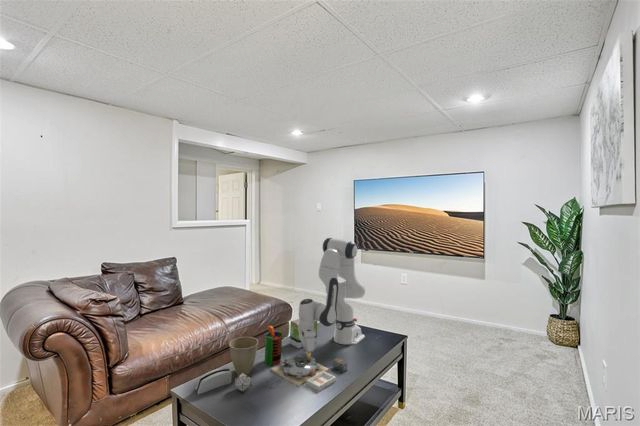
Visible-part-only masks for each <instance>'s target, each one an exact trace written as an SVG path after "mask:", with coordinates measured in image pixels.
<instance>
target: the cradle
mask: <svg viewBox="0 0 640 426" xmlns="http://www.w3.org/2000/svg"><path fill="white" fill-rule="evenodd" d="M336 379H337V378H336V376H334V374H330V373H329V372H328V371H327V372H325V371H322V372H321V373H319V374H317V375H315V376H313V377H311V378H309V379H307V380H306V383H305V384H306V386H308V387H310V388H311V389H313V390H315V391H317V392H320V391H323V389H325V388H328V387H329V386H330V385H332V384H334V383H336Z"/></svg>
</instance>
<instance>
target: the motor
mask: <svg viewBox="0 0 640 426" xmlns="http://www.w3.org/2000/svg"><path fill="white" fill-rule="evenodd" d="M266 330H267V331H268V332H266V333H265V337H264V339H265V341H264V364H265V365H266V366H267V367H273V366H278V365H280V364H281V363H280V362H281V360H282V346H283V345H282V343H283V342H282V341H283V340H282V339H283V332H282V331H276V330H274V326H272V325H267V327H266Z"/></svg>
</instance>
